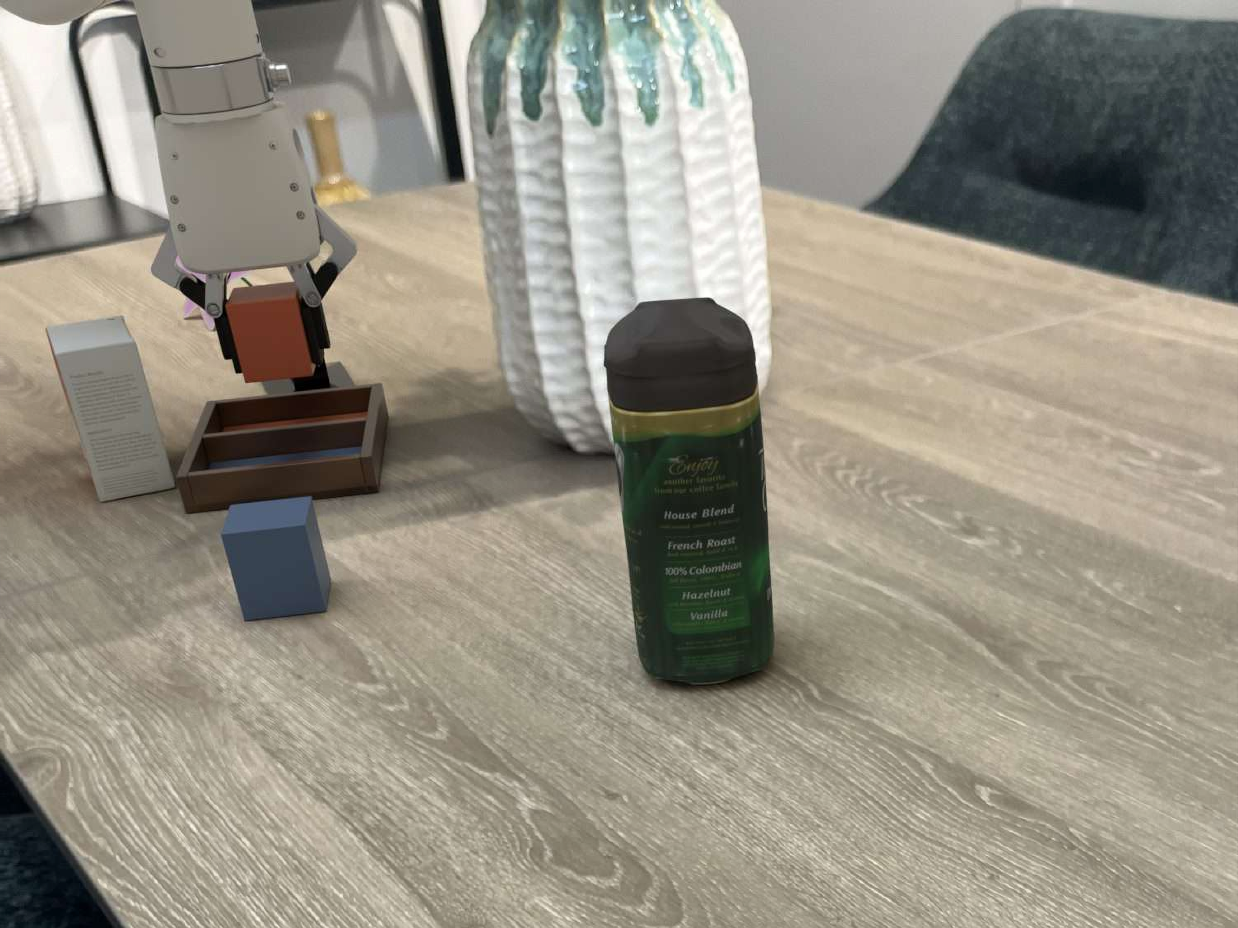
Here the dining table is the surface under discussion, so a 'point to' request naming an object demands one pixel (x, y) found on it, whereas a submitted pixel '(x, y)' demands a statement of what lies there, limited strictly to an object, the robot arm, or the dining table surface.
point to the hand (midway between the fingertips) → (280, 361)
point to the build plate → (312, 380)
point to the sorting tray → (285, 447)
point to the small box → (111, 407)
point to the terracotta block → (269, 332)
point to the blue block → (276, 558)
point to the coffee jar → (692, 488)
